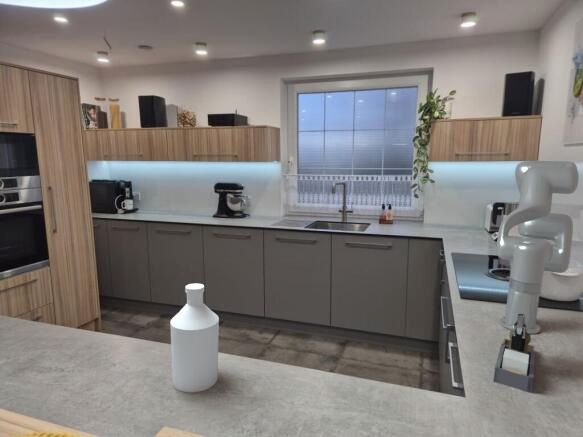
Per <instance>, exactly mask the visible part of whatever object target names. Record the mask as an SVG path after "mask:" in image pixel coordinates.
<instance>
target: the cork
mask: <svg viewBox="0 0 583 437" xmlns="http://www.w3.org/2000/svg"><path fill="white" fill-rule="evenodd" d="M513 331H514V330H510V331H509V335H508V336H509V340H511V339H512V334H513ZM531 337H532V336H531V334H529V333H527V332H526V331H525V338H526V339H525V347H524V351H523V352H522V351H518V350H514V349H511V342H510V346H509V350H513V351H517V352H520V353H524V354H528V345H530V343H531V340H532V339H531Z"/></svg>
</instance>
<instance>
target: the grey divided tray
mask: <svg viewBox="0 0 583 437" xmlns="http://www.w3.org/2000/svg"><path fill="white" fill-rule="evenodd" d="M505 349H509V345H505V344H503V343H501V345H500V348H499V351H498V355H497V359H496V363H495V368H494V373H493V382H495V383H498V384H501V385H504V386H508V387H510V388H514V389H517V390H520V391H523V392H527V393H531V394H532V392H533V384H534V378H535V377H534V376H535V375H534V374H535V361H536V351H534V352H533V351H529V350H528V355H529V360H528V368H527V376H526V375H523V374H521V373H518V372H515V371H511V370H508V369H507V370H506V369H502V363H503V356H504V352H505Z"/></svg>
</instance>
